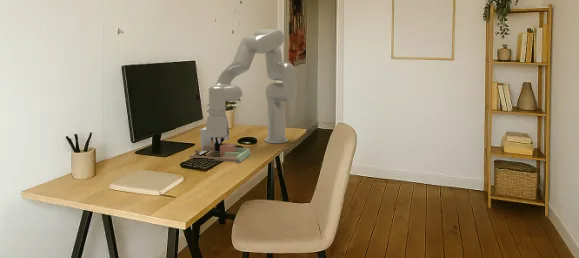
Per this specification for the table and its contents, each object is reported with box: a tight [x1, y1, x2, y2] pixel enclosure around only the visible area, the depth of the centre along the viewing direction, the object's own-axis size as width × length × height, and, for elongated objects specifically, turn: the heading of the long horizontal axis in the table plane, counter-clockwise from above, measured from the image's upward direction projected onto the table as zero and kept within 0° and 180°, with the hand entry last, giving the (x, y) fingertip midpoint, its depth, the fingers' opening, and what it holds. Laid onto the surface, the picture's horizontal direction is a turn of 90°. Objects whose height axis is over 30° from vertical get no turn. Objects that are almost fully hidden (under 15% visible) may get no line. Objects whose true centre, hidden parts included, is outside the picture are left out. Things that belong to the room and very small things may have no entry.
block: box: [220, 142, 237, 156], centre depth 200 cm, size 6×6×5 cm
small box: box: [200, 126, 214, 150], centre depth 214 cm, size 8×6×10 cm
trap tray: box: [188, 145, 251, 164], centre depth 199 cm, size 15×24×3 cm, turn 76°
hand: (218, 151), depth 202 cm, fingers closed
